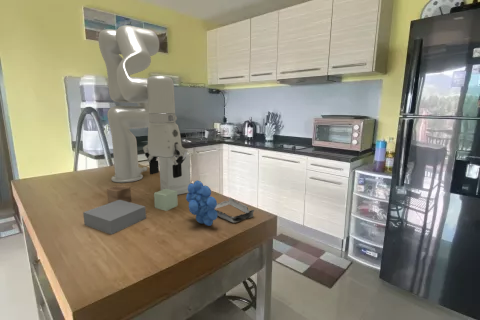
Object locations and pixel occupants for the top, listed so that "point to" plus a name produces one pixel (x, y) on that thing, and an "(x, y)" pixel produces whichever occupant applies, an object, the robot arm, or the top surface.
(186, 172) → the supplement box
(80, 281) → the top surface
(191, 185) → the grapes
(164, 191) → the sage cube
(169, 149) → the robot arm
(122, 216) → the base block
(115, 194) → the walnut cube
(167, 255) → the top surface
